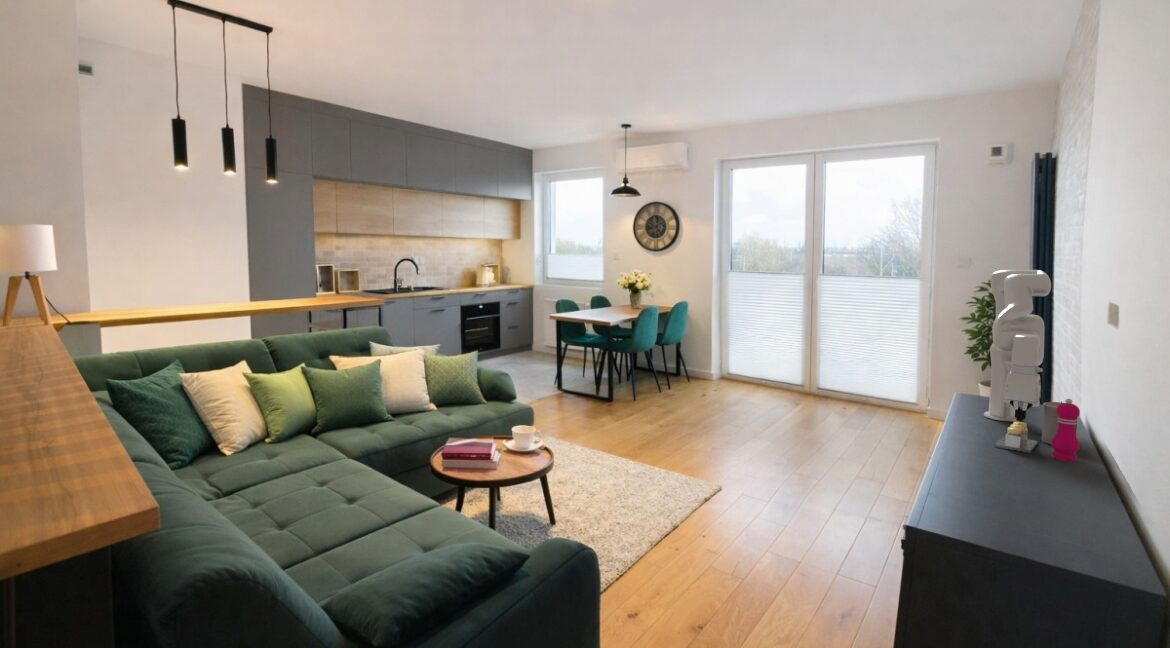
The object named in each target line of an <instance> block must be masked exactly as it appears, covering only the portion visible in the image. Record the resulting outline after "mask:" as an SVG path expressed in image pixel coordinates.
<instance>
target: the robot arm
mask: <svg viewBox="0 0 1170 648" xmlns="http://www.w3.org/2000/svg"><path fill="white" fill-rule="evenodd" d="M990 289H991V292H992V295H993V298H994V300H995V319H994V321H993V323H992V332H991V333H992V344H991V345H990V350H989V354H990V363H991V365H990V366H991V368H990V369H991V372H990V373H991V374H990V388H989V399H988V401H989V403H988V411H985V412H984V413H983V416H984V417H985V418H987V419H990V420H995V421H1000V422H1023V421H1024V420H1026V417H1027V416H1026V415H1027V410H1030V408H1035V407H1040V406H1041V402H1040V401H1041V392H1042V388H1041V387H1042V386H1041V385H1042V383H1041V374H1039V373H1043V368H1042V367H1039V366H1041V364H1042V363H1043V361H1044V357H1045V356H1044V354H1045V322H1044V319H1043V318H1042V317H1041V316H1040V315H1037V314H1031V313H1032V312H1033V311H1034V304H1033V297H1046V296H1048V295H1049V294H1050V293H1051V289H1052V283H1051V279H1050V277H1049V275H1048V274H1047V273H1046V272H1044V271H1043V270H1041V269H1001V270H996V271H994V272H993V273H991V276H990ZM1020 402H1021V403H1022V408H1021V407H1020Z"/></svg>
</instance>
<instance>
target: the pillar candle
mask: <svg viewBox="0 0 1170 648" xmlns="http://www.w3.org/2000/svg"><path fill="white" fill-rule="evenodd" d="M1062 403H1063V402H1062V401H1059V402H1058V401H1047V402H1043V406H1042V407H1043V411H1042V421H1041V422H1042V423H1041V442H1043V443H1046V444H1048V445H1051V443H1052V439H1053V437H1054V436H1055V434H1056V433H1057V431H1058V428H1059V422H1058V421H1057V420H1058V417H1059V415H1058V414H1057V412H1056V409H1057V407H1058V406H1059V405H1060V404H1062ZM1076 419H1077V420H1078V417H1077V418H1076ZM1077 426H1078V423H1077V424H1075V435H1076V436H1077V430H1078V429H1077V428H1078V427H1077Z"/></svg>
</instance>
